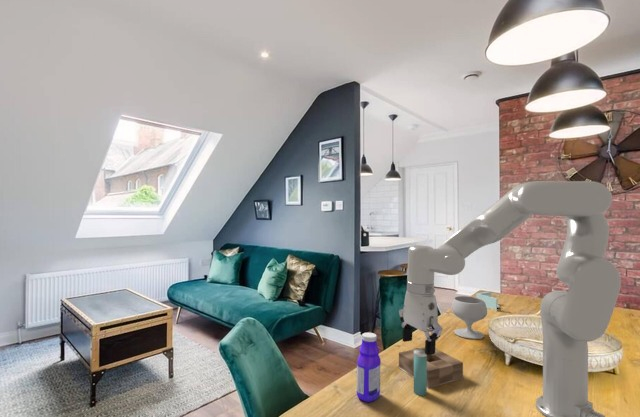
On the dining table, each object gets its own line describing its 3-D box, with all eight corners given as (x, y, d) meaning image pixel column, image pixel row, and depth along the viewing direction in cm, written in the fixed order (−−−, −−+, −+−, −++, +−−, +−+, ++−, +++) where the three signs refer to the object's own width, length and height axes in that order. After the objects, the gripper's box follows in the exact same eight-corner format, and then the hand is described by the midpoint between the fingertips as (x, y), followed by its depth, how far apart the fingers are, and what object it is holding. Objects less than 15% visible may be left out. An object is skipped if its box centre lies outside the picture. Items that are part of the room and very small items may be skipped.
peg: (429, 394, 96) (429, 352, 96) (419, 396, 94) (419, 354, 94) (420, 387, 99) (421, 347, 99) (410, 390, 98) (411, 349, 98)
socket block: (463, 378, 105) (463, 362, 105) (428, 388, 99) (428, 371, 99) (431, 359, 118) (431, 345, 118) (397, 367, 112) (398, 352, 112)
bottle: (366, 388, 99) (367, 329, 99) (383, 394, 95) (384, 333, 95) (352, 398, 93) (353, 335, 93) (370, 406, 90) (371, 341, 90)
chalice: (464, 326, 153) (464, 294, 153) (493, 336, 141) (494, 301, 141) (444, 332, 145) (444, 298, 146) (474, 343, 134) (474, 305, 134)
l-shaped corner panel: (496, 312, 177) (496, 298, 178) (476, 306, 188) (476, 293, 188) (509, 309, 183) (509, 296, 183) (489, 304, 194) (489, 291, 194)
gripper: (452, 294, 91) (450, 357, 91) (410, 281, 107) (408, 335, 106) (431, 296, 88) (429, 362, 88) (391, 282, 103) (389, 338, 103)
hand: (418, 347), depth 97 cm, fingers open, 9 cm apart
